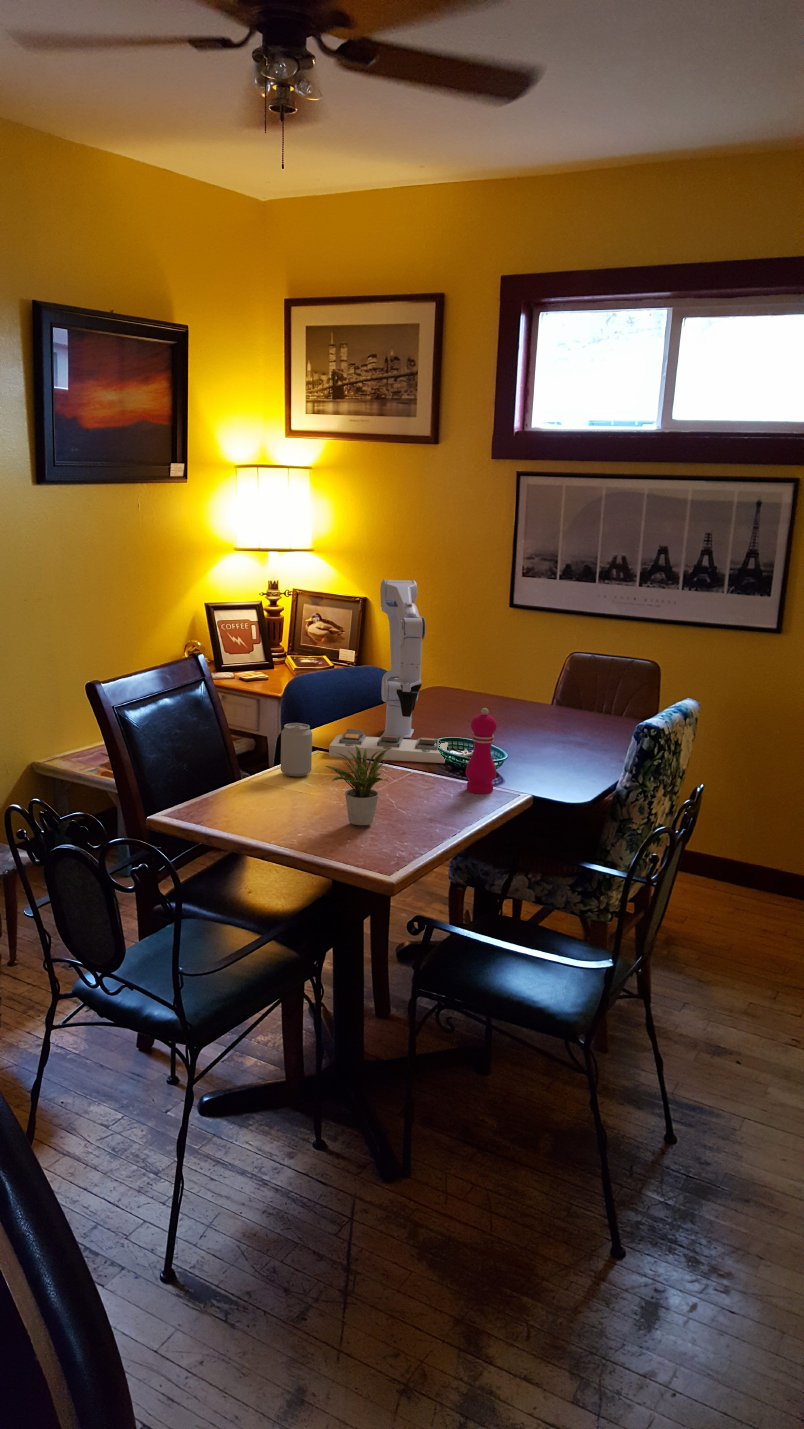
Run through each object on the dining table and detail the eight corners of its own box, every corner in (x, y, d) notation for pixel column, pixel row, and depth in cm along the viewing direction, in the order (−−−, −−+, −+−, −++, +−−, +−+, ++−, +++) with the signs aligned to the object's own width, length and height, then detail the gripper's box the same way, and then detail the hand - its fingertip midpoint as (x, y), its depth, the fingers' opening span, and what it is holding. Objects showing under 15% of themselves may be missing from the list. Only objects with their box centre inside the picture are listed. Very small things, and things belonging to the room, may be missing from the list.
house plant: (360, 804, 227) (363, 733, 223) (409, 819, 218) (412, 745, 215) (316, 818, 216) (317, 744, 212) (365, 835, 207) (367, 757, 204)
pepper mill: (496, 795, 238) (501, 712, 233) (465, 794, 238) (470, 710, 233) (494, 786, 245) (499, 705, 240) (463, 785, 245) (468, 703, 240)
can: (275, 775, 246) (276, 726, 244) (287, 767, 253) (288, 720, 251) (304, 778, 244) (305, 730, 242) (315, 771, 251) (317, 723, 249)
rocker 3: (421, 741, 271) (421, 737, 271) (436, 742, 271) (436, 738, 271) (419, 743, 265) (419, 739, 265) (434, 744, 265) (434, 740, 265)
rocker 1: (347, 732, 273) (347, 728, 273) (362, 733, 273) (362, 729, 273) (343, 741, 268) (343, 737, 267) (358, 742, 267) (358, 738, 267)
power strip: (337, 745, 277) (337, 731, 276) (490, 756, 272) (491, 742, 271) (329, 756, 265) (329, 741, 264) (489, 768, 261) (490, 753, 260)
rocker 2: (384, 738, 272) (384, 734, 272) (399, 739, 272) (399, 735, 272) (381, 740, 266) (381, 736, 266) (396, 741, 266) (396, 737, 266)
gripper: (398, 657, 276) (396, 706, 279) (391, 666, 262) (389, 718, 265) (424, 659, 275) (422, 708, 278) (419, 668, 261) (416, 720, 264)
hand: (408, 713), depth 271 cm, fingers open, 7 cm apart
